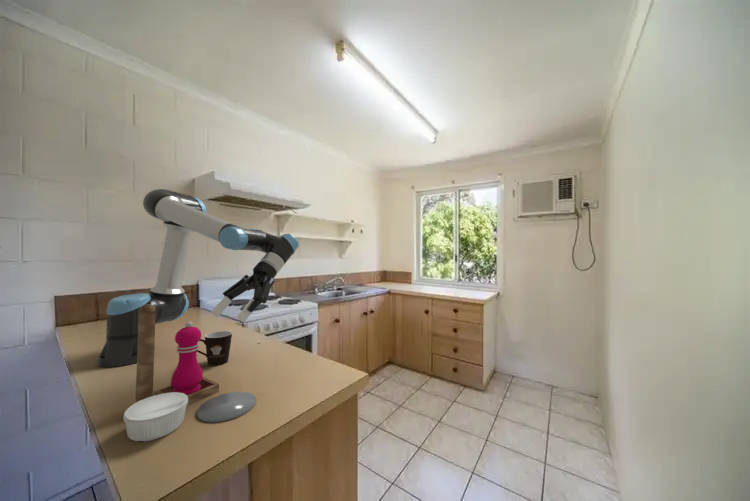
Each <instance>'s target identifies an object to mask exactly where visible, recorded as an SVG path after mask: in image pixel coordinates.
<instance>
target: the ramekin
mask: <svg viewBox="0 0 750 501" xmlns="http://www.w3.org/2000/svg"><path fill="white" fill-rule="evenodd" d="M187 403H188V396H187V395H186V394H184V393H178V392H172V393H164V394H159V395H155V396H152V397H149V398H146V399H143V400H141V401H138V402H137V403H136V402H135V403H133V404H132V405H131V406H129V407H128V408H126V410H125V411H124V413H123V418H122V419H123V422H124V424H125V429H126V435H127V437H128V438H129V439H130V440H131V441H133V440H134V441H133V442H137V441H144V442H150V441H154V440H158V439H159V438H160V439H161V438H163V437H165V436H167V435H169V434H171V433H173V432H174V431H176V429H178V428H179V427H180V426H181V425H182V423H183V422H184V419H185V415H186V410H187V406H188V405H187Z"/></svg>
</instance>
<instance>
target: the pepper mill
mask: <svg viewBox="0 0 750 501" xmlns="http://www.w3.org/2000/svg"><path fill="white" fill-rule="evenodd" d="M193 325H194V324H193V321H191V320H190V321H186V322H185V324H184V326H185V327H183V328H181V329H179V330H178V331H177V332H176V333H175V337H174V341H175V343H176V344H177V346H176V349H177V350H176V352H177V353H178V362H177V366H176V368H175V370H174V371H173V373H172V376H171V380H170V384H171V385H172V387H174V388H175V389H174V390H173V392H178V393H184V394H186V395H189V394H192V393H194V392H197V391H199V390H202V389H201V387H202V386H201V385H200V384H199V383H200V381H201V380H202V378H203V377H204V376H203V375H204V374H203V369H202V367H201V366H200V364H199V362H198V358H197V356H198V355H197V353H198V352H197V350H199V349H200V347H199V346H200V343H199V342H200V341H199V340H200V339H202V332H201V330H200V328H198V327H196V326H193Z"/></svg>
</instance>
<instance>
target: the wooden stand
mask: <svg viewBox="0 0 750 501" xmlns="http://www.w3.org/2000/svg"><path fill="white" fill-rule="evenodd" d="M155 310H156V309H155V307H154V306H153V305H151V304H145V305H143V306H141V307H140V308H139V316H138V346H137V363H136V375H135V376H136V379H135V382H136V383H135V403H137V402H138V401H141V400H143V399H146V398H149V397H152V396H155V395H159V394H164V393H172V392H173V390H174V389H175V388H174V387H172V385H171V383H170V384H168V385H166V386H162V387H159V388H156V389H154V376H155V375H154V369H155V368H154V367H155V340H156V338H155V337H156V336H155V334H156V324H155ZM199 384H200V385H201V387H203V388H202V389H200V390H199V391H197V392H194V393H192V394H189V395H187V396H188V403H187V405H186V406H188V405H190V404H192V403H195V402H197V401H199V400H202V399H205V398H207V397H209V396H212V395H214V394H216V393H219V392H220V384H219V383H218V382H216V381H214V380H211V379H209V378H207V377H204V376H203V378H202V380H201V381H200V383H199Z"/></svg>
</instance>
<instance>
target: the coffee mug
mask: <svg viewBox="0 0 750 501" xmlns="http://www.w3.org/2000/svg"><path fill="white" fill-rule="evenodd" d="M232 337H233V332H232V331H228V330H221V331H213V332H209V333H207V334H204V339H203V338H201V339H200V340H199V341H198V342H203V344H204V345H205V350H206V351H205V352H206V353H205V352H203V351H201V350H199V349H198V350H197V353H199V354H201V355H204V356H205V357H206V360H207V365H208V366H210V367H211V366H212V367H216V366H221V365H224V364H226V363H228V362H229V358H230V357H229V356H230V350H231V343H232Z"/></svg>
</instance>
